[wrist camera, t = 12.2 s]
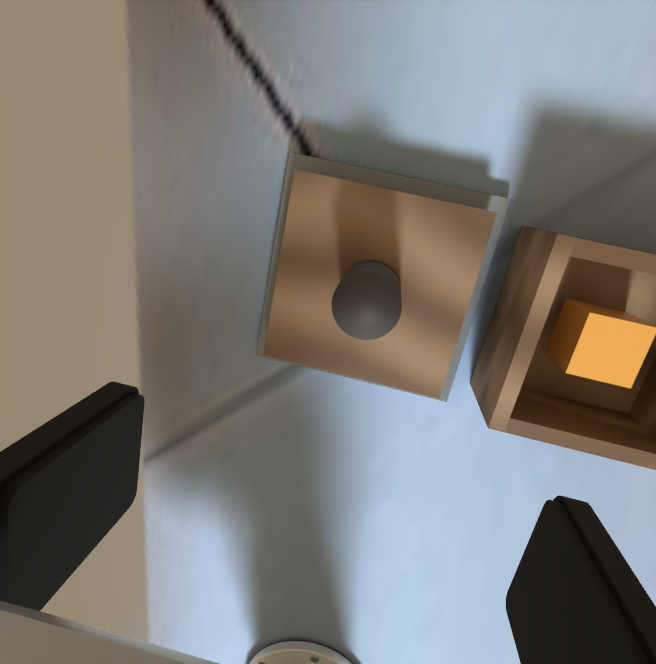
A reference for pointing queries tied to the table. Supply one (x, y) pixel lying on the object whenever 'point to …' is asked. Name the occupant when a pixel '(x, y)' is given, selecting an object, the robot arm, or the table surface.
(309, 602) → the table surface
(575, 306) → the block
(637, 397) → the storage box
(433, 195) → the mat
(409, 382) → the lid
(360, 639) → the table surface
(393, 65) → the table surface
